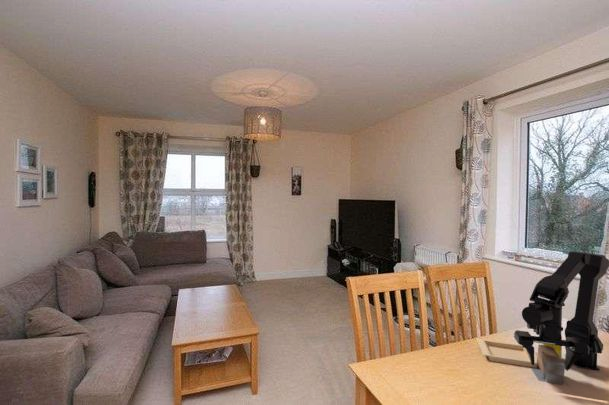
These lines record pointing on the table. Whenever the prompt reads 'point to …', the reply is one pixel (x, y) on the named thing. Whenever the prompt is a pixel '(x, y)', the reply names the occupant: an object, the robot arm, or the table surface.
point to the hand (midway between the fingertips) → (549, 367)
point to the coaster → (541, 377)
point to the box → (550, 364)
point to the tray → (506, 353)
